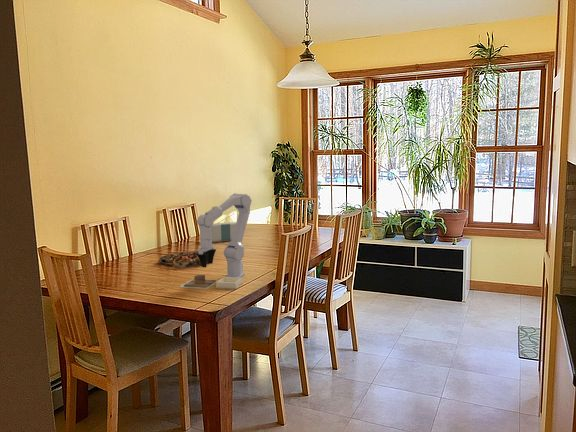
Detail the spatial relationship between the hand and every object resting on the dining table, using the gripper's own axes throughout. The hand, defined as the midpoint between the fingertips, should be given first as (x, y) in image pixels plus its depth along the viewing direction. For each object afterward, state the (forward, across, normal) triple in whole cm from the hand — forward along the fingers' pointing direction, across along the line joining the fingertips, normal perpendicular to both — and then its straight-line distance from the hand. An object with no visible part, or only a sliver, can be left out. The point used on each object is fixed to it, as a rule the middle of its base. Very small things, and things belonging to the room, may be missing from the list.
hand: (207, 265), depth 243 cm
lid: (+9, +2, -3) cm, 10 cm away
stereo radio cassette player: (+10, -112, -35) cm, 118 cm away
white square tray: (+9, +2, +12) cm, 16 cm away
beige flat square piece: (+9, +2, -4) cm, 10 cm away
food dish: (+10, -43, -32) cm, 55 cm away
